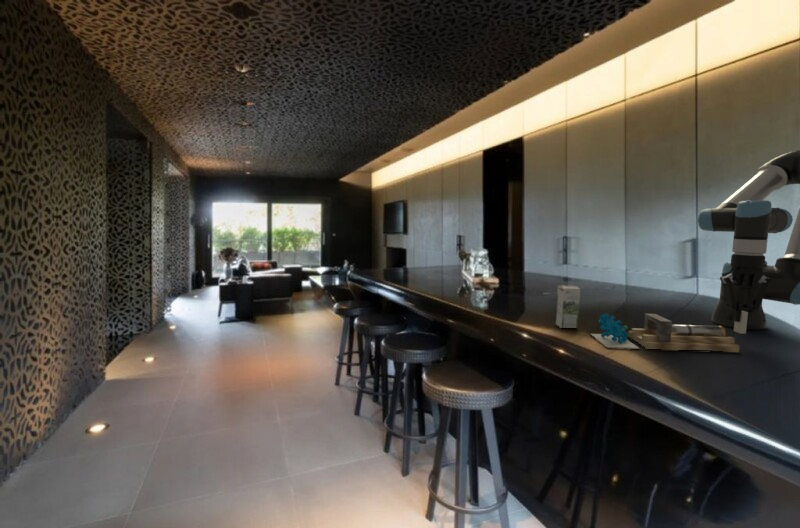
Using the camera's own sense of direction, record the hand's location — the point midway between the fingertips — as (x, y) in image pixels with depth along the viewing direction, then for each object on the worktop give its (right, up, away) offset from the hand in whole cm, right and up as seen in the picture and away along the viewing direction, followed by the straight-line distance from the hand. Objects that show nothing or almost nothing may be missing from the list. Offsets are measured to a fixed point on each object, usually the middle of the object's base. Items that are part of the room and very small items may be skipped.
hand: (739, 332), depth 119 cm
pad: (-36, -4, +4) cm, 36 cm away
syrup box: (-43, -2, +20) cm, 48 cm away
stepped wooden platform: (-16, -4, +2) cm, 17 cm away
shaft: (-12, -2, +1) cm, 13 cm away
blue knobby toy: (-35, -3, +4) cm, 36 cm away
